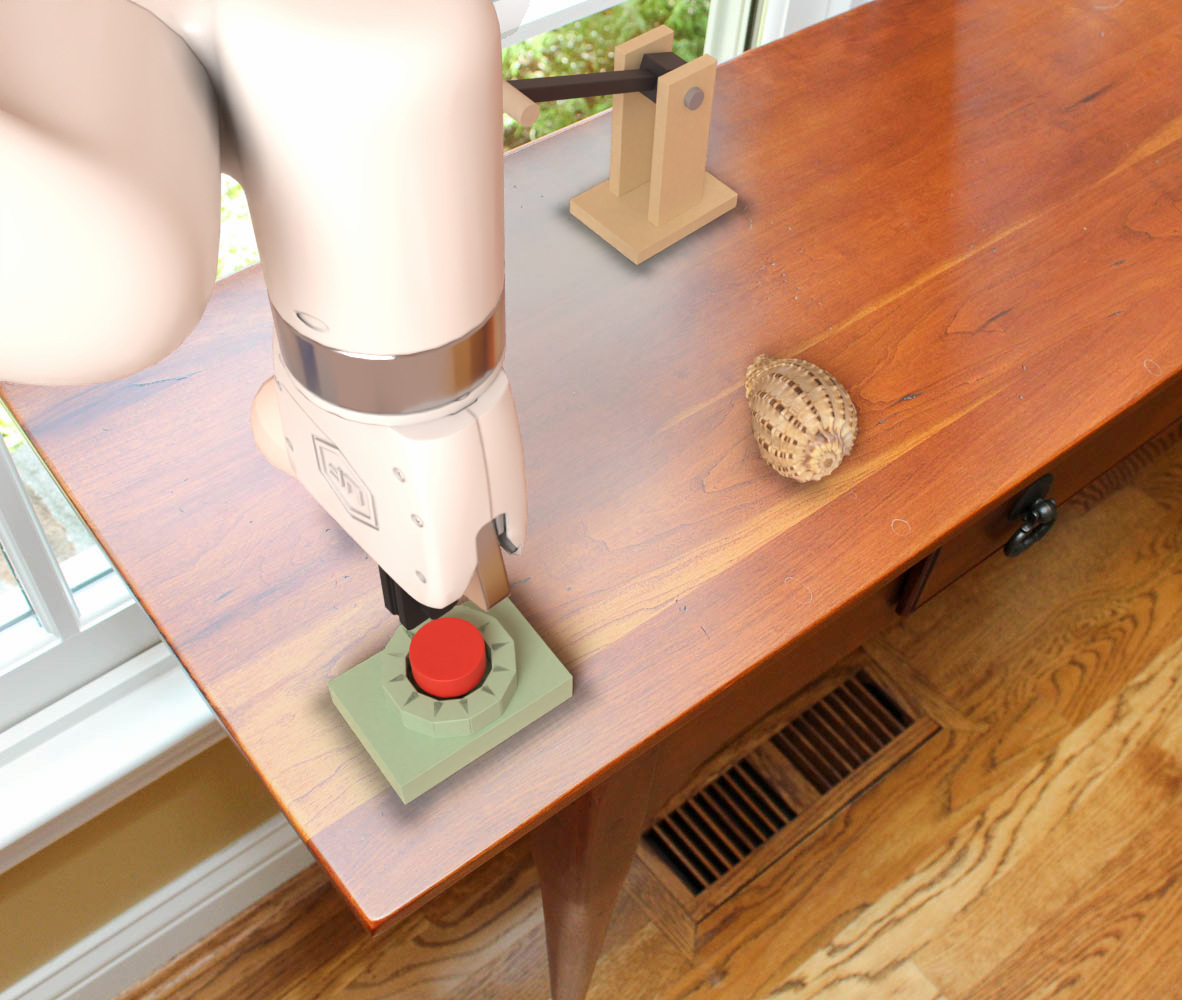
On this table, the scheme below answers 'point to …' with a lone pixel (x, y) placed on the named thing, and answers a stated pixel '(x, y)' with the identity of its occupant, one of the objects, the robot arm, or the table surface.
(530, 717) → the control block
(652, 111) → the bracket
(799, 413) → the seashell
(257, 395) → the light bulb
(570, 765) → the table surface
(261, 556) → the table surface
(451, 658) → the button
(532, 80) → the lever
